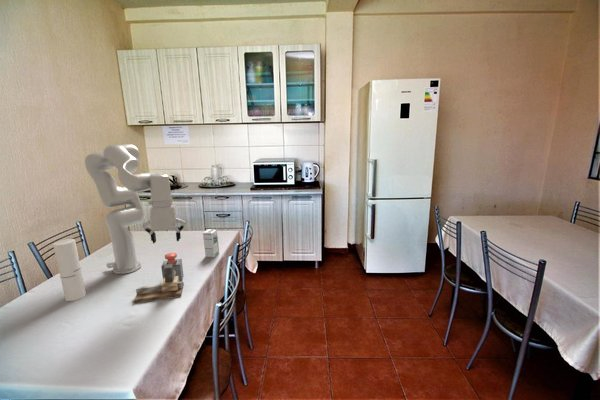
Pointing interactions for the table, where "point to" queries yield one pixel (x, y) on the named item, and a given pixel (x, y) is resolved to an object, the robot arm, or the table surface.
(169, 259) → the button
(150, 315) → the table surface
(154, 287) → the slide rail
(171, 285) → the carriage
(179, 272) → the gauge cabinet
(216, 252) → the syrup box
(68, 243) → the cylindrical container
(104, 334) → the table surface
